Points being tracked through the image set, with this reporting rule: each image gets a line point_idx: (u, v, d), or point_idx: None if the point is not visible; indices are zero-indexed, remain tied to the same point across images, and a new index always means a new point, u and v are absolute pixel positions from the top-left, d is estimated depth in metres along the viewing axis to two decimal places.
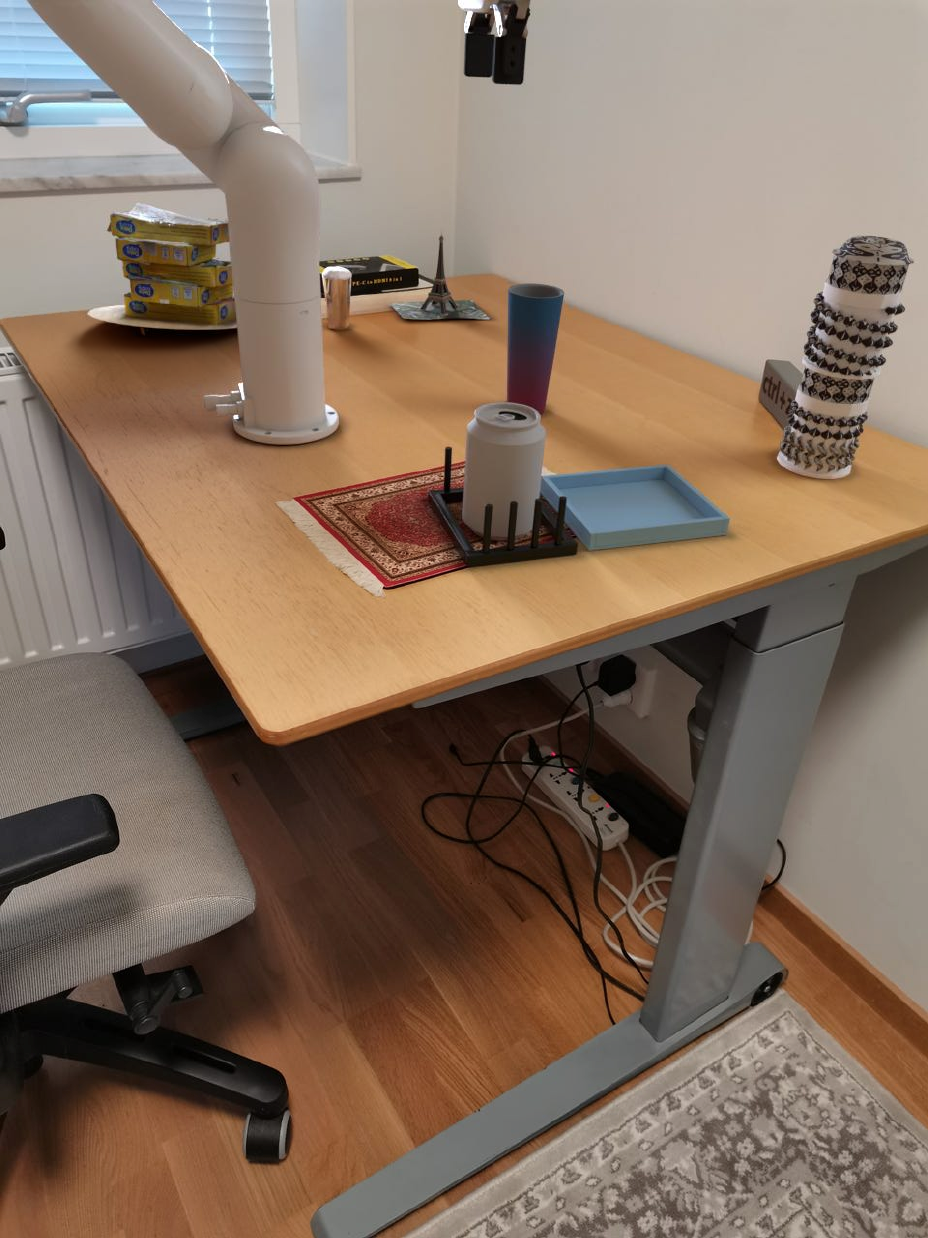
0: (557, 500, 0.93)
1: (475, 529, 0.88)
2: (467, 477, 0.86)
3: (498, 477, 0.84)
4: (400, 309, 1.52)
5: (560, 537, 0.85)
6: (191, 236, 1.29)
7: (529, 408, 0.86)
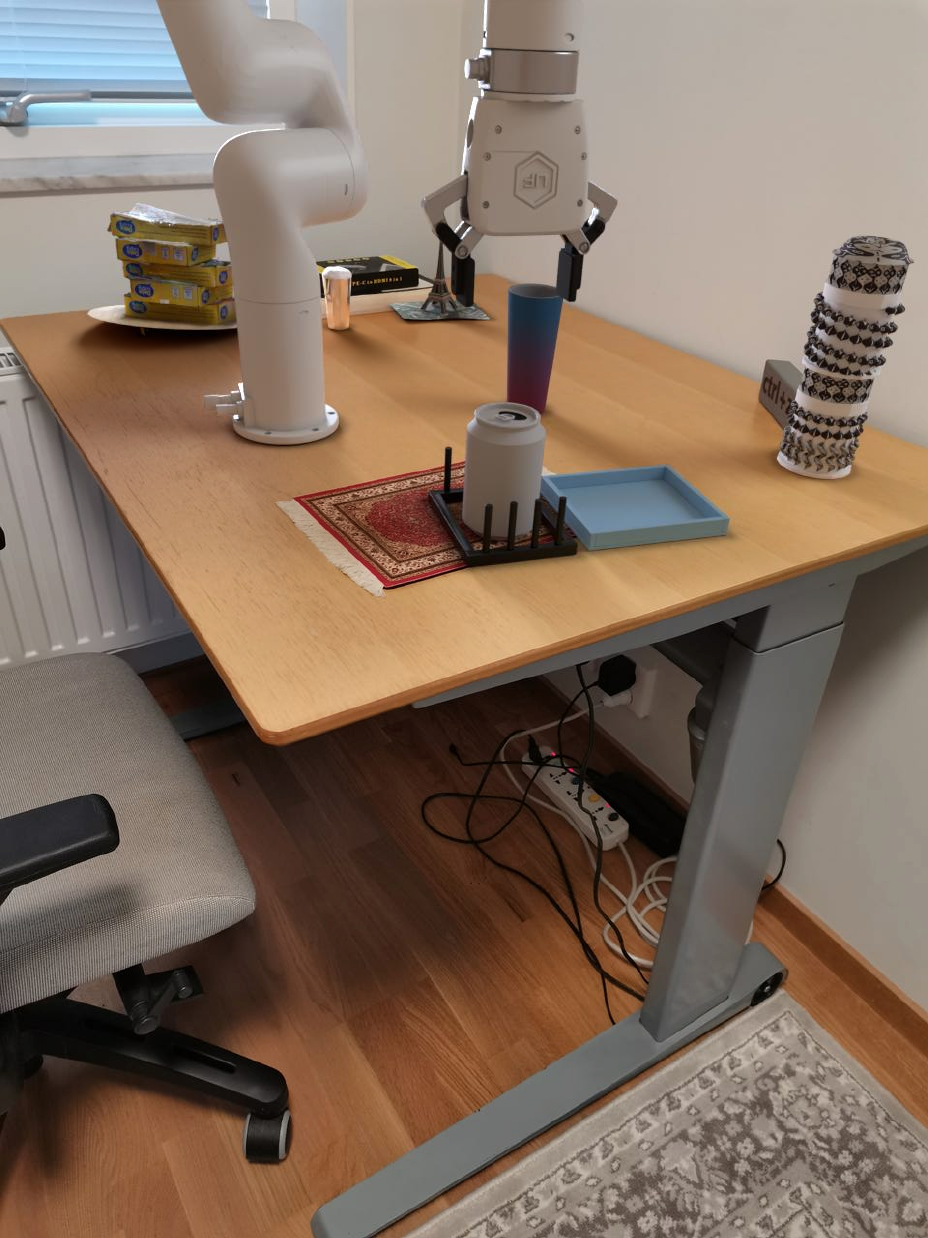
0: (557, 500, 0.93)
1: (475, 529, 0.88)
2: (467, 477, 0.86)
3: (498, 477, 0.84)
4: (400, 309, 1.52)
5: (560, 537, 0.85)
6: (191, 236, 1.29)
7: (529, 408, 0.86)
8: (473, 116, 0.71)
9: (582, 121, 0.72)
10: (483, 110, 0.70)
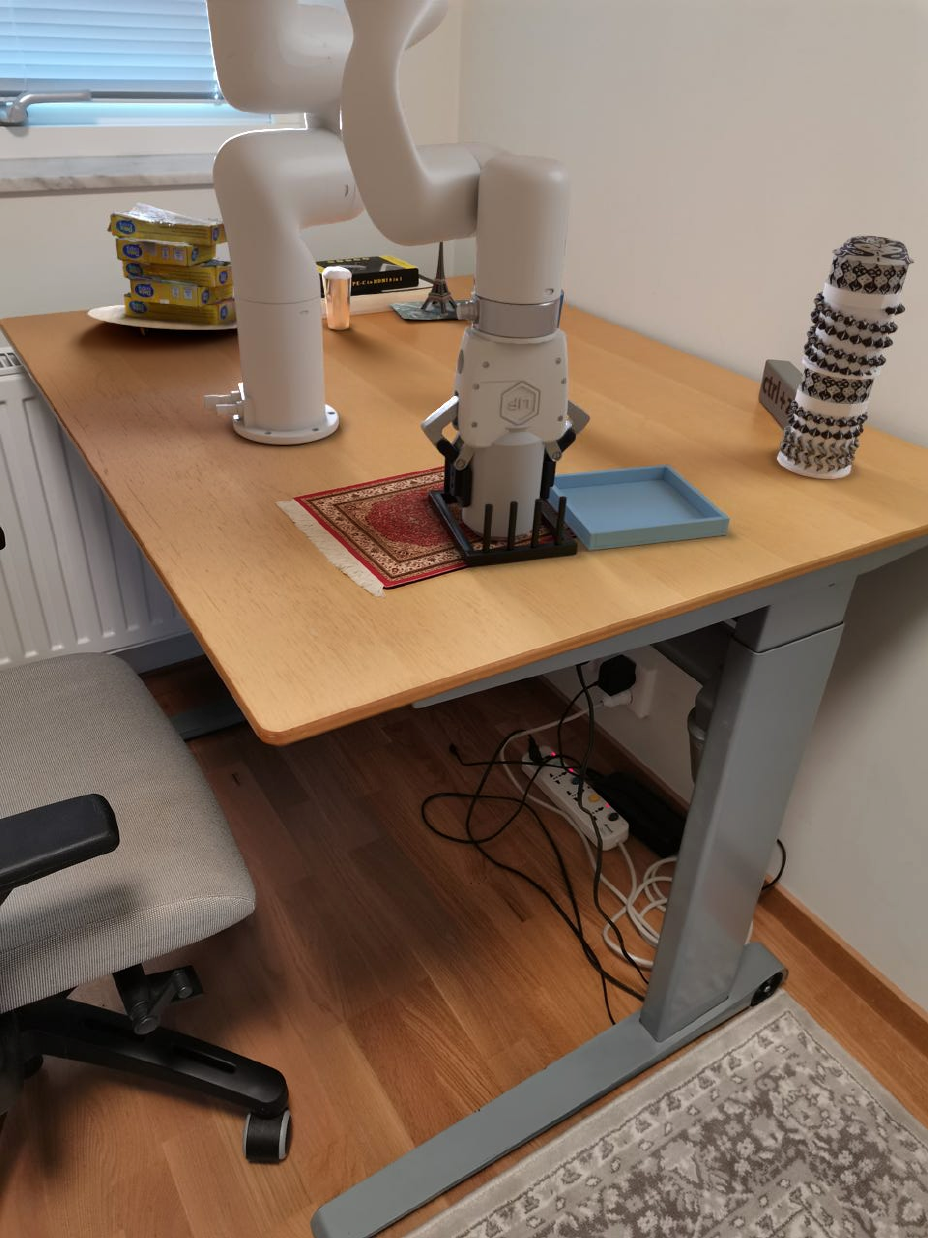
0: (557, 500, 0.93)
1: (475, 529, 0.88)
2: None
3: (498, 477, 0.84)
4: (400, 309, 1.52)
5: (560, 537, 0.85)
6: (191, 236, 1.29)
7: None
8: (464, 349, 0.79)
9: (562, 353, 0.80)
10: (472, 348, 0.78)
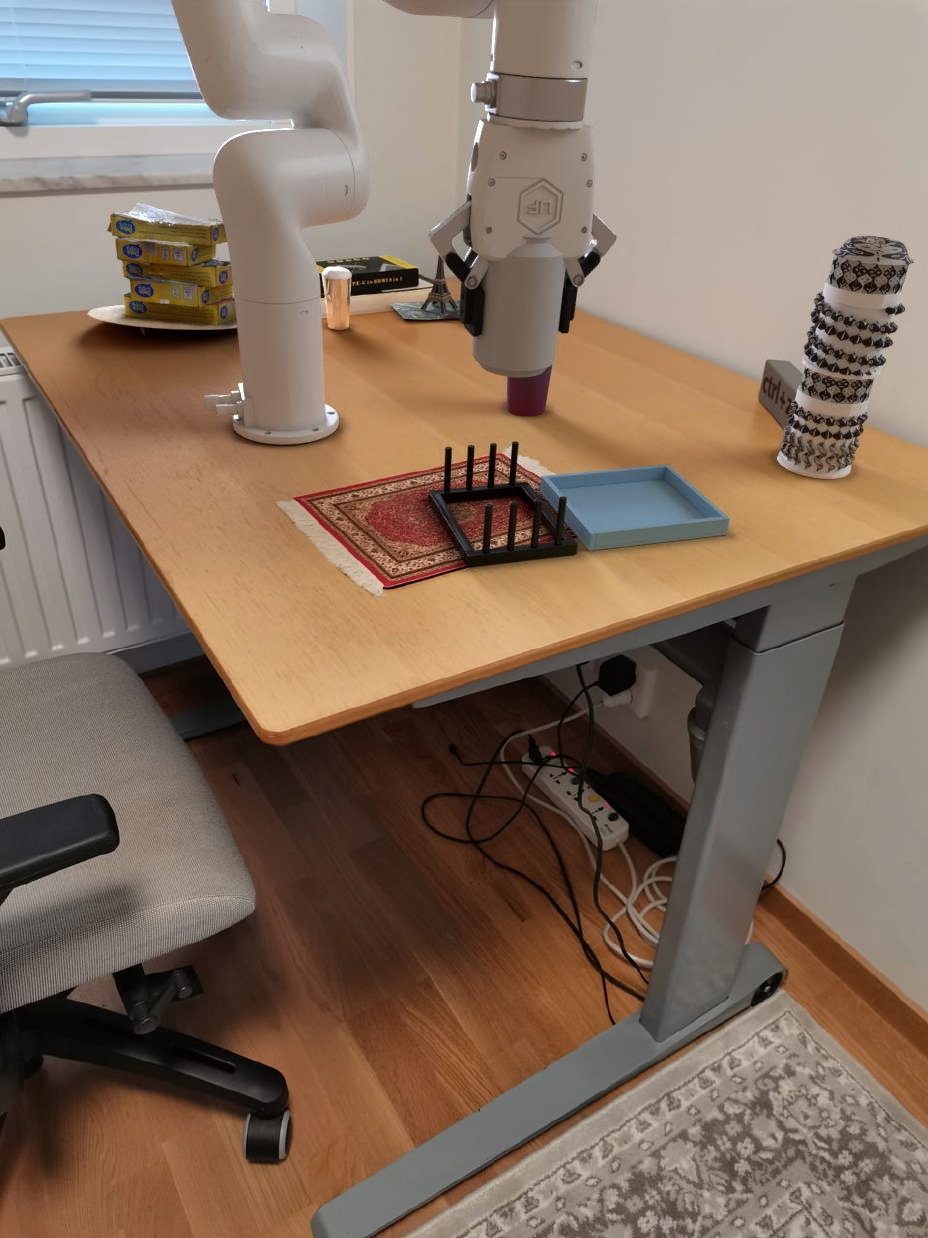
0: (557, 500, 0.93)
1: (486, 363, 0.79)
2: None
3: (514, 297, 0.75)
4: (400, 309, 1.52)
5: (560, 537, 0.85)
6: (191, 236, 1.29)
7: None
8: (478, 140, 0.70)
9: (589, 148, 0.71)
10: (488, 135, 0.69)
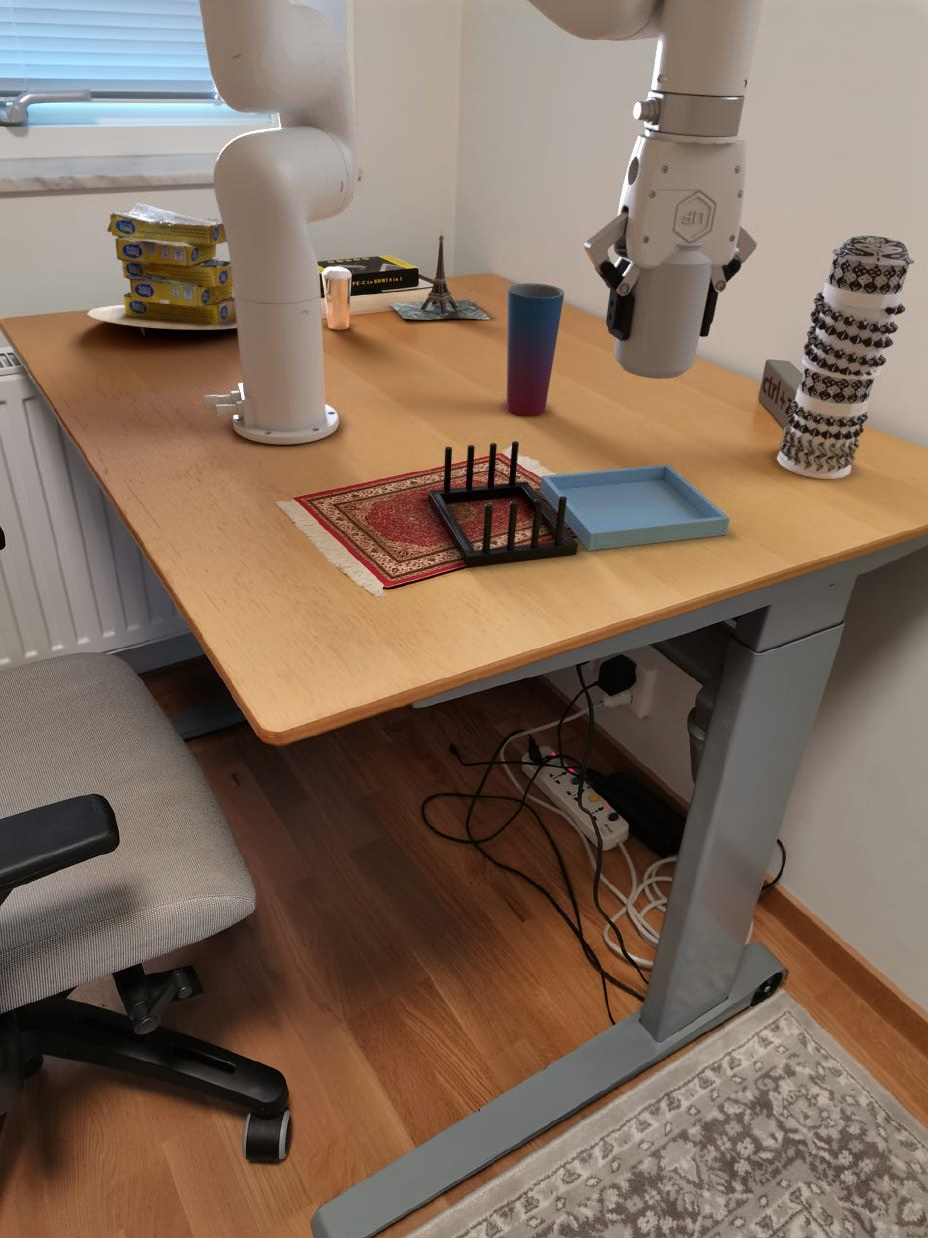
0: (557, 500, 0.93)
1: (632, 366, 0.83)
2: None
3: (665, 302, 0.79)
4: (400, 309, 1.52)
5: (560, 537, 0.85)
6: (191, 236, 1.29)
7: None
8: (639, 155, 0.74)
9: (742, 161, 0.75)
10: (651, 150, 0.73)
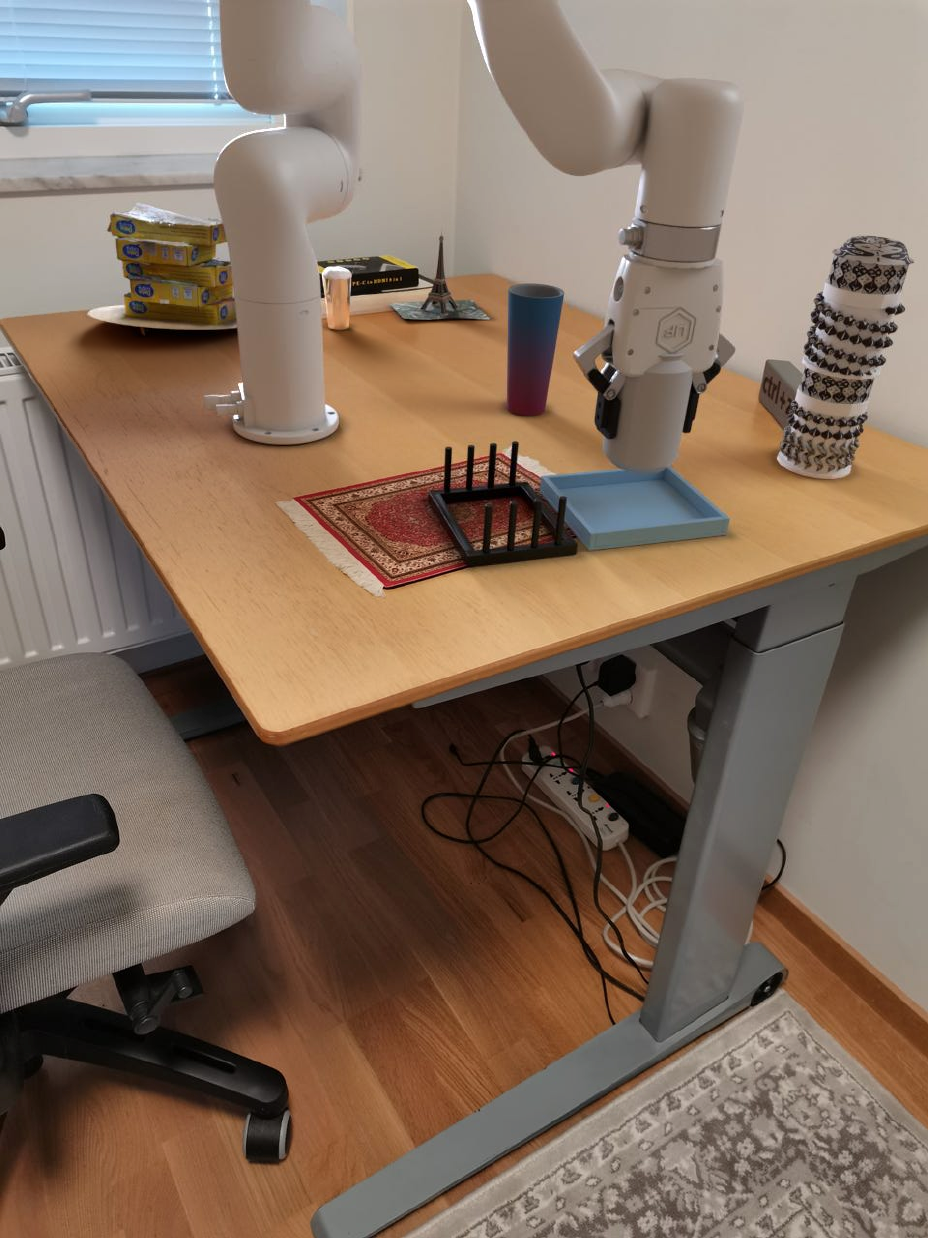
0: (557, 500, 0.93)
1: (619, 462, 0.88)
2: None
3: (649, 407, 0.84)
4: (400, 309, 1.52)
5: (560, 537, 0.85)
6: (191, 236, 1.29)
7: None
8: (623, 276, 0.80)
9: (720, 280, 0.80)
10: (635, 273, 0.78)
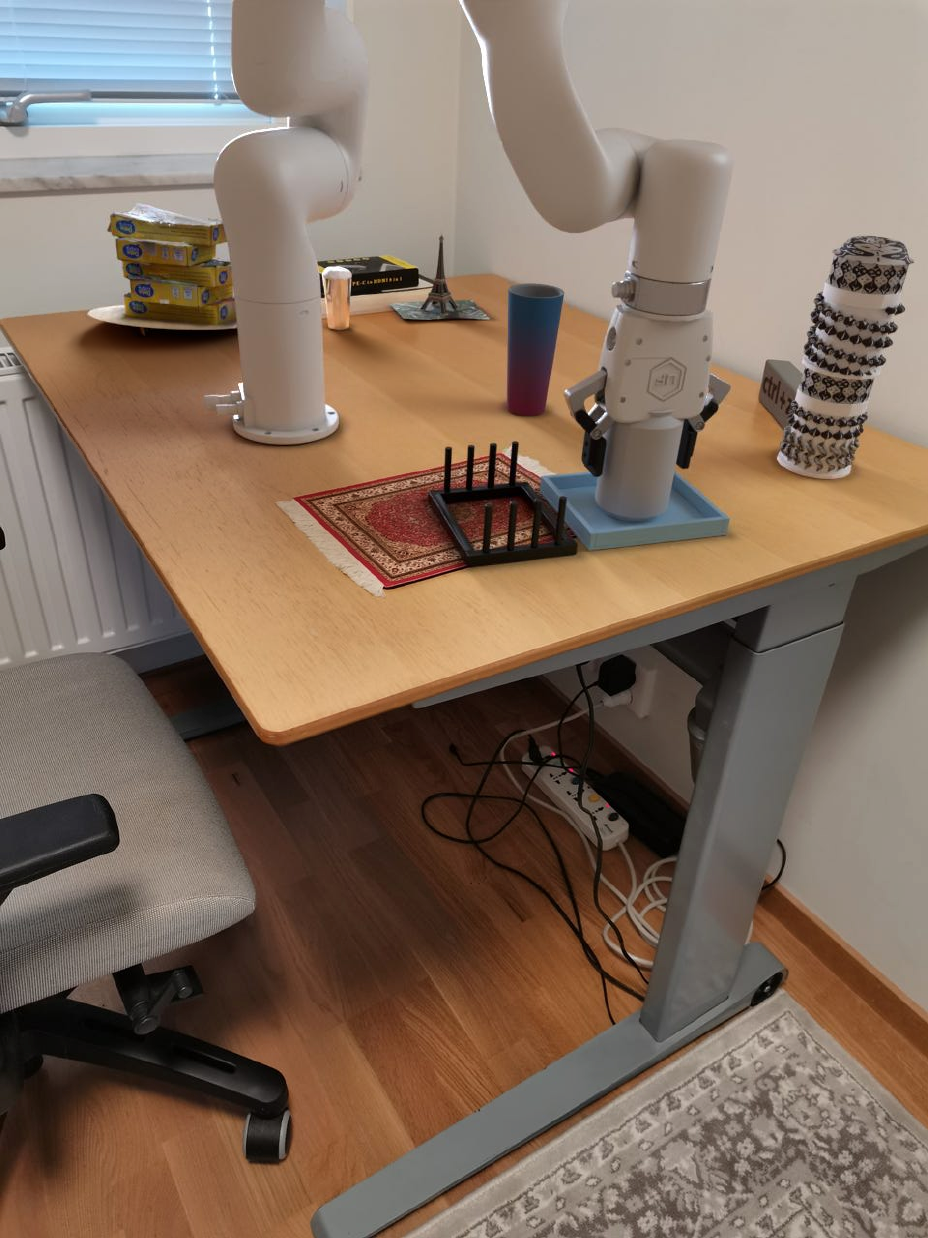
0: (557, 500, 0.93)
1: (611, 511, 0.91)
2: (606, 461, 0.90)
3: (640, 460, 0.87)
4: (400, 309, 1.52)
5: (560, 537, 0.85)
6: (191, 236, 1.29)
7: None
8: (616, 327, 0.82)
9: (709, 331, 0.83)
10: (627, 325, 0.81)
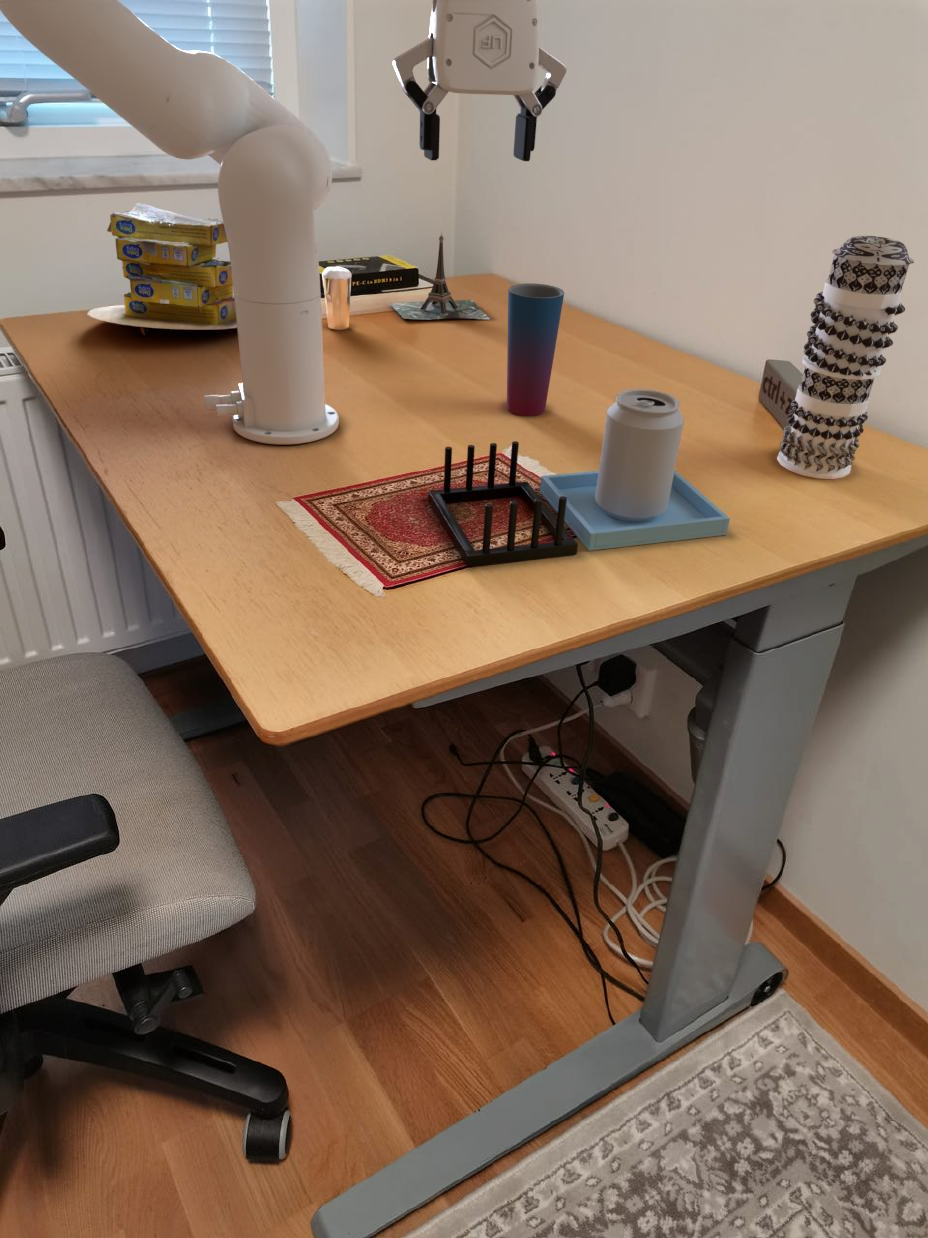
0: (557, 500, 0.93)
1: (611, 511, 0.91)
2: (606, 461, 0.90)
3: (640, 460, 0.87)
4: (400, 309, 1.52)
5: (560, 537, 0.85)
6: (191, 236, 1.29)
7: (666, 394, 0.89)
8: None
9: None
10: None
